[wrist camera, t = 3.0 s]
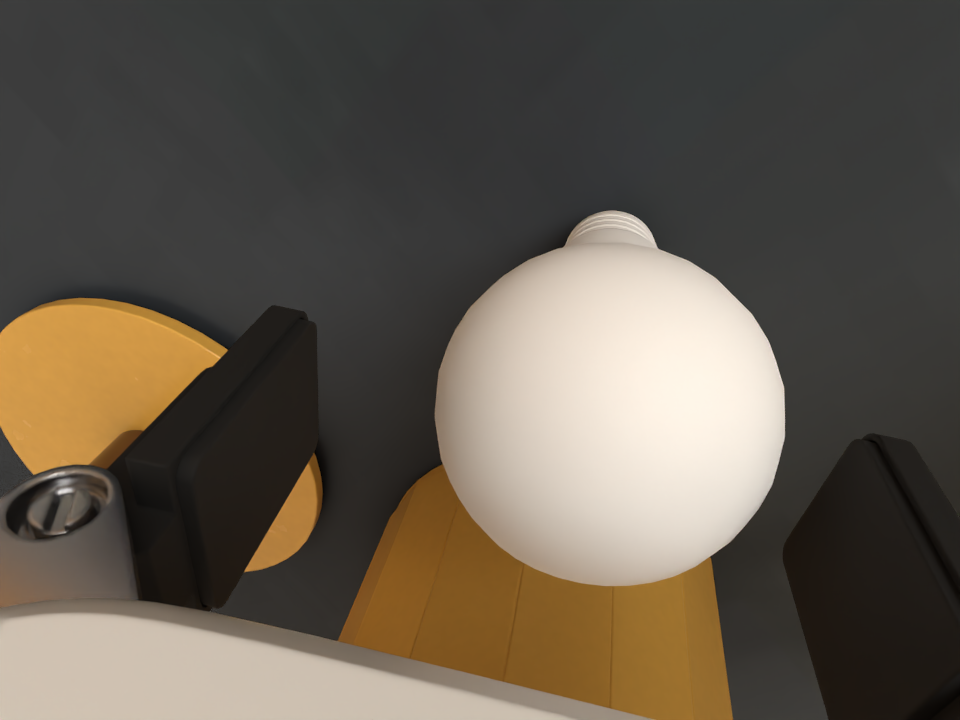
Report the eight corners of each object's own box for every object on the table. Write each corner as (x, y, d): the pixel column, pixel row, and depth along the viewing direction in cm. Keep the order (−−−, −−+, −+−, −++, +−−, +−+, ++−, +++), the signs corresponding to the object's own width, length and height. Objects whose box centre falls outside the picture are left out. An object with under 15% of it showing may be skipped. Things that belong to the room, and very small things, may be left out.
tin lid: (-40, 252, 23) (-228, 337, 18) (327, 338, 22) (236, 455, 17) (60, 510, 31) (-49, 617, 26) (330, 583, 30) (269, 710, 25)
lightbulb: (772, 228, 17) (943, 553, 8) (619, 366, 20) (611, 704, 11) (599, 83, 15) (560, 264, 7) (468, 255, 19) (323, 530, 10)
